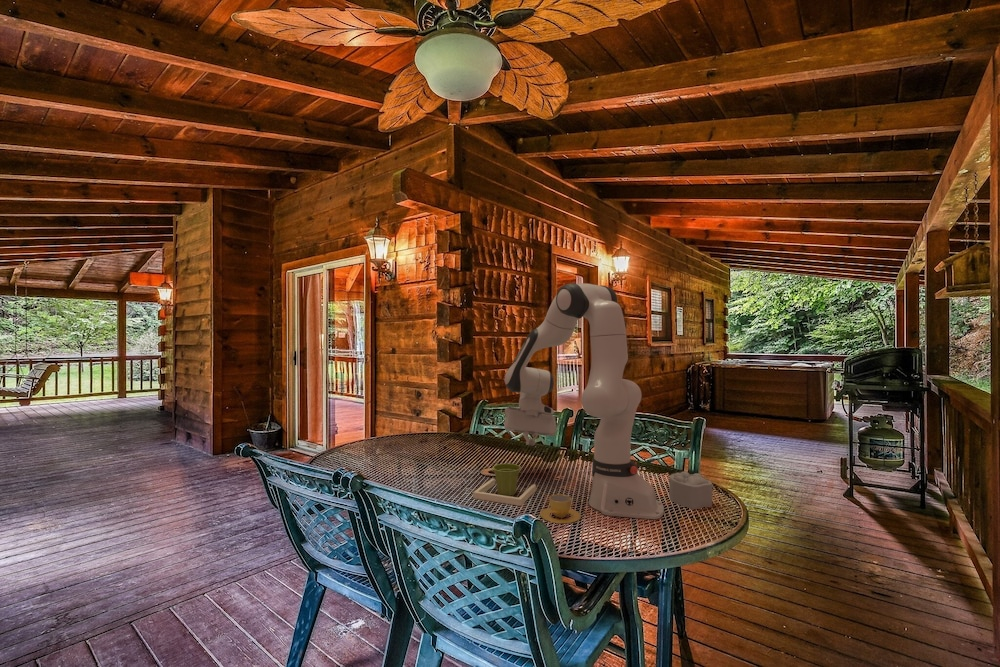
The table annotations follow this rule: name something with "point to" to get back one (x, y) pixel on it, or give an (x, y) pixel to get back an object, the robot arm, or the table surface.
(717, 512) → the table surface
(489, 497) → the frame
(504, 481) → the plant pot
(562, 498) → the cup
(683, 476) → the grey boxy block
